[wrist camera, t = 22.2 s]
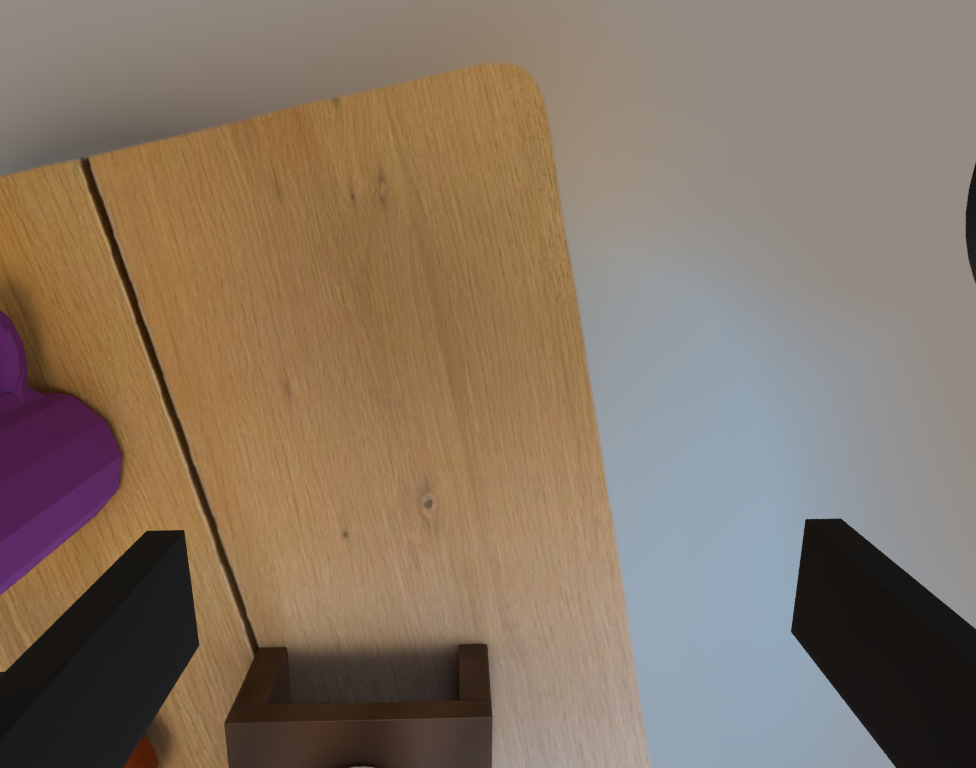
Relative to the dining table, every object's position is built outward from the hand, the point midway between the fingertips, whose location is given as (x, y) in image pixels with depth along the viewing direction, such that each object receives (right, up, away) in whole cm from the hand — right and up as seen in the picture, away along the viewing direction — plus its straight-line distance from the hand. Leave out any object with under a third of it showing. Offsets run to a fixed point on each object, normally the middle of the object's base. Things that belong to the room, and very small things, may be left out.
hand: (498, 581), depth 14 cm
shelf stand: (-8, -21, +34) cm, 41 cm away
